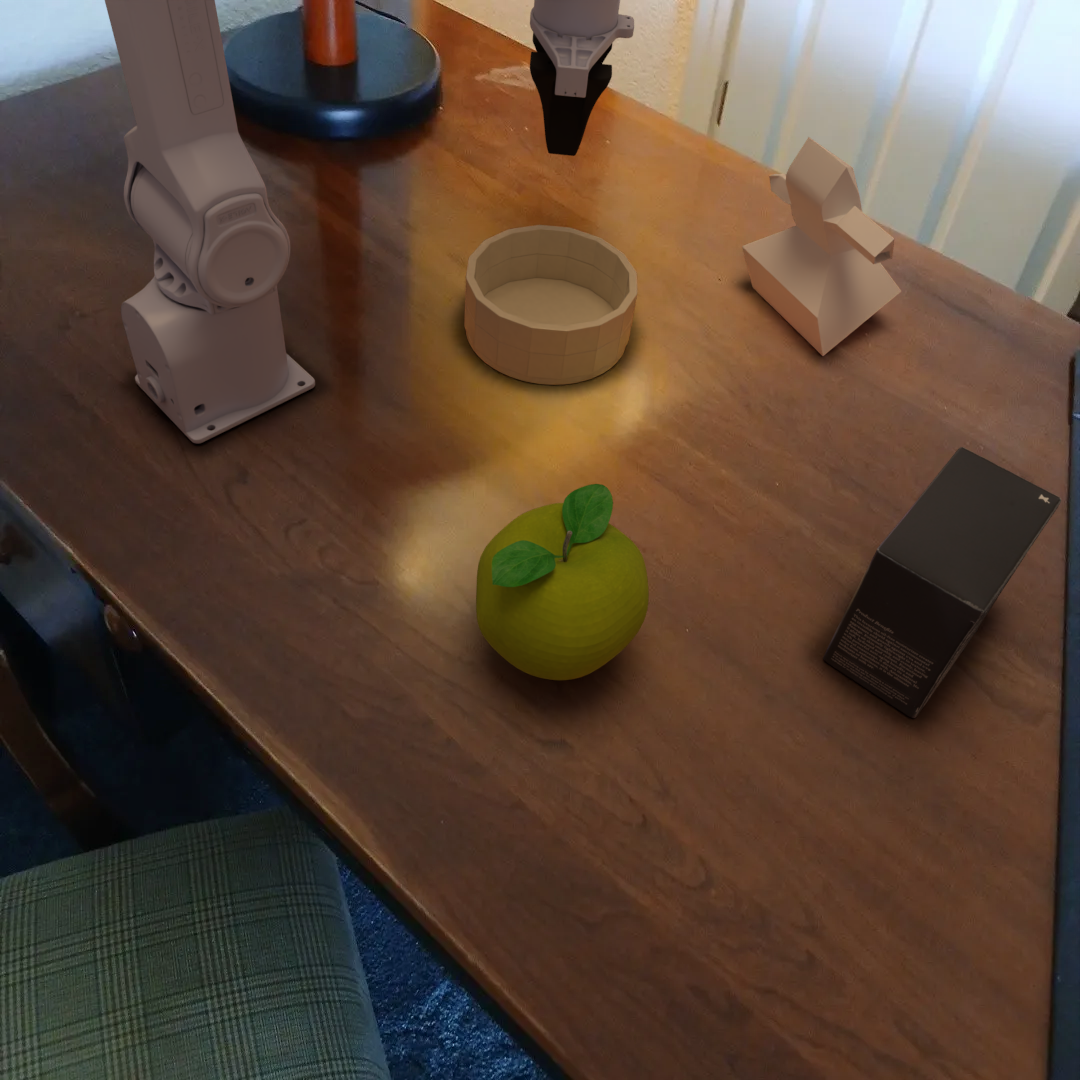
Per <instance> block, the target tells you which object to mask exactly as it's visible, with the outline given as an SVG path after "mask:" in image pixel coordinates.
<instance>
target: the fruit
mask: <svg viewBox="0 0 1080 1080" xmlns="http://www.w3.org/2000/svg"><path fill="white" fill-rule="evenodd" d="M613 508H614V501H613V495H612V493H611V491H610V489H609V488H608V487H607V486H606V485H604V484H601V483H592V484H591V483H590V484H587V485H584V486H581V487H578V488H576V489H574V490H573V491H571V492H570V493H569V494H568V495H567V496H566V497H565V498H564V500H563V502H556V503H550V504H546V505H542V506H539V507H535V508H533V509H530V510H528V511H525V512H523V513H522V514H520V515H518V516H516V517H515V518H514V519H513V520H511V521H510V522H509V523H508V524H506V525H505V526H504V527H503V528H502V529H501V530H500V531H498V533H496V534H495V535H494V536H493V537H492V539H491V540H490V541H489V542H488V543H487V545H486V546H485V547H484V549H483V551H482V552H481V555H480V557H479V560H478V565H477V572H476V587H475V588H476V589H475V613H476V614H475V615H476V623H477V625H478V629H479V631H480V632H481V633H480V634H481V635H482V636H483V638H484V639H485V640H486V642H487V644H489V645H490V646H491V648H492V649H493V650H494V651H495V652H497V654H498V655H500V656H501V657H502V658H503V659H504V660H506V662H508V663H509V664H510V665H512V666H513V667H515V668H516V669H517V670H519V671H521V672H523V673H525V674H528V675H529V676H533V677H536V678H540V679H545V680H551V681H552V680H553V681H569V680H575V679H579V678H583V677H585V676H588V675H590V674H592V673H594V672H596V671H597V670H598V669H600V668H602V667H603V666H605V665H606V664H607V663H609V662H610V661H611V660H613V659H614V658H615V657H617V656H618V655H619V654H620V653H621V652H622V651H623V650H624V649H626V647H628V646H629V644H630V643H631V642H632V640H634V639H635V637H636V636H637V635H638V633H639V631H640V630H641V628H642V626H643V624H644V623H645V620H646V616H647V613H648V609H649V601H650V600H649V598H650V597H649V596H650V593H649V590H650V589H649V580H648V579H649V577H648V572H647V567H646V562H645V559H644V556H643V554H642V552H641V551H640V548H638V546H637V545H636V544H635V542H634V541H633V540H632V539H631V538H630V537H628V536H627V534H624V533H623V532H622V531H621V530H620V529H618V528H617V527H615V526H614V525H612V524H611V523H610V520H611V517H612V514H613Z"/></svg>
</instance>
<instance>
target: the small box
mask: <svg viewBox="0 0 1080 1080" xmlns="http://www.w3.org/2000/svg"><path fill="white" fill-rule="evenodd" d="M1061 503H1062V498H1061V497H1060V496H1059V495H1057V494H1055V493H1052V492H1051V491H1048V489H1045V488H1043V487H1041V486H1039V485H1037V484H1035V483H1033V482H1031V481H1030V480H1027V479H1026V478H1024V477H1022V476H1020V475H1018V474H1016V473H1014V472H1013V471H1010V470H1008V469H1006V468H1005V467H1002V466H1001V465H998V464H996V463H995V462H993V461H991V460H989V459H987V458H986V457H983V456H982V455H979V454H977V453H976V452H974V451H972V450H970V449H968V448H966V447H964V446H960V447H959V448H958V449H956V451H955V452H954V453H953V454H952V456H951V457H950V458H949V460H947V462H946V463H945V465H944V466H943V467H942V468H941V470H940V471H939V472H938V473H937V475H936V476H935V477H934V478H933V479H932V481H931V482H930V483H929V484H928V486H927V487H926V488H925V490H924V491H923V492H922V493H921V495H920V496H919V497H918V498H917V499H916V501H915V502H914V503H913V504H912V506H910V508H909V509H908V510H907V512H906V513H905V514H904V515H903V516H902V517H901V519H900V520H899V521H898V523H897V524H896V525H895V526H894V527H893V528H892V529H891V530H890V532H889V533H888V535H886V536H885V538H884V539H883V541H881V543H880V544H879V545H878V547H877V548H876V550H875V552H874V554H873V556H872V558H871V560H870V562H869V563H868V566H867V567H866V569H865V571H864V574H863V575H862V577H861V579H860V581H859V583H858V585H857V588H856V589H855V592H854V594H853V595H852V598H851V600H850V601H849V603H848V605H847V608H846V609H845V611H844V614H843V615H842V618H841V620H840V621H839V623H838V624H837V625H838V626H837V628H836V630H835V631H834V634H833V636H832V638H831V640H830V642H829V644H828V646H827V648H826V651H825V652H824V655H823V658H822V660H823V661H824V662H825V663H827V664H828V665H830V666H832V667H833V668H834V669H836V670H837V671H839V672H840V673H842V674H843V675H845V676H846V677H848V678H849V679H851V680H852V681H854V682H856V683H857V684H858V685H860V686H862V687H863V688H865V689H866V690H867V691H870V693H873V694H874V695H875V696H877V697H878V698H880V699H881V700H883V701H884V702H886V703H887V704H889V705H890V706H892V707H893V708H895V709H897V710H898V711H899V712H902V714H905V716H908V717H909V718H912V719H915V718H917V717H918V716H919V714H920V713H921V712H922V710H923V708H924V707H925V706H926V705H927V703H928V701H929V700H930V699H931V697H932V696H933V694H934V693H935V691H936V690H937V688H938V687H939V686H940V684H941V683H942V682H943V681H944V679H945V677H946V676H947V674H948V672H949V671H950V670H951V669H952V667H953V665H954V664H955V663H956V662H957V660H958V658H959V657H960V656H961V654H962V653H963V652H964V651H965V649H966V647H967V646H968V644H970V642H971V641H972V638H973V637H974V636H975V635H976V634H977V632H978V630H979V627H980V626H981V625H982V624H983V621H984V620H985V618H986V617H987V616H988V614H989V612H990V611H991V610H992V608H993V606H994V605H995V603H996V602H997V600H998V598H999V597H1000V595H1001V594H1002V592H1003V590H1004V589H1005V587H1006V586H1007V584H1008V583H1009V582H1010V580H1011V578H1012V577H1013V576H1014V574H1015V573H1016V572H1017V571H1016V570H1017V569H1018V568H1019V566H1020V565H1021V563H1022V561H1023V560H1024V558H1025V557H1026V556H1027V554H1028V552H1029V551H1030V549H1031V548H1032V547H1033V545H1034V543H1035V542H1036V541H1037V539H1038V537H1039V536H1040V534H1041V533H1042V531H1043V530H1044V529H1045V527H1046V525H1047V524H1048V523H1049V521H1050V520H1051V519H1052V517H1053V516H1054V514H1055V512H1056V511H1057V509H1059V506H1060V504H1061Z"/></svg>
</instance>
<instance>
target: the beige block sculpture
mask: <svg viewBox="0 0 1080 1080" xmlns="http://www.w3.org/2000/svg"><path fill="white" fill-rule="evenodd" d="M768 179H769V185H770V191H771V193H772V194H774V195H775V196H776V197H777V198H779V200H781V201H782V203H785V204H787V205H789V206H790V211H791V216H792V219H793V221H794V223H795V225H794V226H791V227H789V228H786V229H783V230H781V231H778V232H774V233H773V234H770V235H768V236H765V237H762V238H759V239H757V240H754V241H752V242H749V243H746V244H744V245H741V249H742V252H743V257H744V260H745V264H746V268H747V272H748V275H749V279H750V282H751V287H752V289H753V290H754V291H756V293H758V294H759V296H761V297H762V299H764V300H765V302H767V303H768V304H769V305H770V306H771V307H772V308H773V309H774V311H776V312H777V313H778V314H779V315H780V316H781V317H782V318H783V319H784V320H785V321H786V322H787V323H788V324H789V325H790V326H791V327H792V328H793V329H794V330H795V331H796V332H797V333H798V334H799V335H800V336H802V338H803V339H805V341H807V343H808V344H809V345H811V346H812V347H813V348H814V349H815V350H816V351H817V352H818V353H819V354H820V355H821V356H822V357H824V356H825V355H826V354H828V353H829V352H830V351H831V350H832V349H834V348H835V347H836V346H837V345H839V344H840V343H841V342H843V340H844V339H846V338H847V337H848V336H850V335H851V334H852V333H853V332H855V330H857V329H858V328H859V327H860V326H862V325H863V324H864V323H865V322H866V321H867V320H869V319H870V318H871V317H872V316H874V315H875V314H876V313H877V312H878V311H880V310H881V309H882V308H883V307H885V306H886V305H887V304H888V303H889V302H890V301H892V300H893V299H894V298H896V297H897V296H898V295H900V293H902V290H901V288H900V287H899V285H898V284H897V283H896V282H895V280H894V279H893V278H892V276H891V275H890V273H889V272H888V271H887V269H886V268H885V267H884V265H883V264H882V263H884V262H886V261H891V260H893V256H894V255H893V253H894V247H895V238H894V237H893V236H892V235H891V234H890V233H889V232H888V231H886V230H885V229H883V228H882V227H881V226H880V225H879V224H877V222H875V221H874V220H872V218H871V217H869V216H868V215H866V214H865V213H864V212H863V207H862V204H861V203H862V201H861V196H860V195H861V194H860V192H859V188H858V183H857V179H856V174H855V170H854V167H853V166H852V165H850V164H848V163H847V162H846V161H844V160H843V159H842V158H840V157H839V156H837V155H835V154H834V153H833V152H831V151H830V150H829V149H827V148H825V147H824V146H822V145H821V144H820V143H818V142H817V141H816V140H814V139H812V138H811V137H810V136H807V139H806V140H805V142H804V144H803V145H802V146H801V148H800V149H799V151H798V152H797V154H796V156H795V157H794V159H793V160H792V162H791V163H790V165H789V166H788V169H787V171H786V173H774V174H769V175H768Z"/></svg>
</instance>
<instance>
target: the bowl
mask: <svg viewBox="0 0 1080 1080" xmlns="http://www.w3.org/2000/svg"><path fill="white" fill-rule="evenodd" d="M464 293H465V294H464V301H465V302H464V322H463V323H464V324H463V325H464V330H465V331H464V332H465V336H466V339H467V341H468V344H469V345H470V347H471V349H472V350H473V352H474V353H475V354H476V355H477V356H478V358H479V359H481V360H482V361H483V362H484V363H485V364H486V365H488V366H489V367H490V368H491V369H494V370H496V371H497V372H499V373H501V374H503V375H505V376H508V377H510V378H512V379H516V380H519V381H521V382H526V383H531V384H538V385H548V386H549V385H550V386H562V385H563V386H564V385H571V384H577V383H581V382H585V381H589V380H591V379H595V378H597V377H599V376H601V375H603V374H604V373H606V372H607V371H609V370H610V369H612V368H613V367H614V366H615V365H616V364H617V363H618V362H619V360H620V359H621V358H622V357H623V355H624V353H625V351H626V349H627V345H628V344H629V341H630V336H631V331H632V326H633V320H634V315H635V311H636V310H635V309H636V305H637V304H636V303H637V298H638V273H637V271H636V269H635V268H634V266H633V264H632V263H631V262H630V260H629V258H628V257H627V256H626V254H625V253H624V252H622V251H621V250H620V249H618V248H617V247H616V246H614V245H613V244H611V243H610V242H608V241H606V240H605V239H604V238H602V237H600V236H597V235H595V234H592V233H588V232H585V231H583V230H580V229H577V228H574V227H570V226H559V225H547V224H534V225H528V226H520V227H513V228H508V229H505V230H503V231H501V232H499V233H496V234H495V235H492V236H490V237H488V238H485V239H484V240H483V241H482V242H481V243H480V244H479V245H478V246H477V247H476V248H475V250H474V251H473V252H472V253H471V254H470V255H469V257H468V260H467V266H466V274H465V289H464Z"/></svg>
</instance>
